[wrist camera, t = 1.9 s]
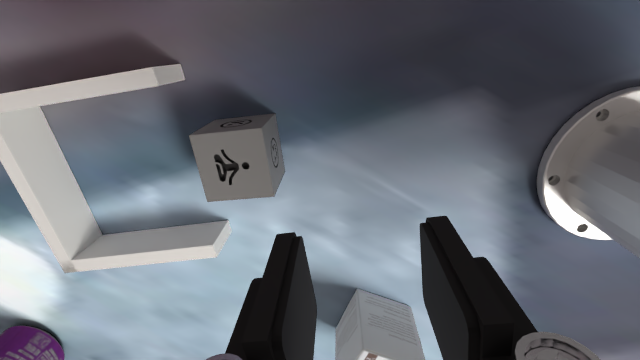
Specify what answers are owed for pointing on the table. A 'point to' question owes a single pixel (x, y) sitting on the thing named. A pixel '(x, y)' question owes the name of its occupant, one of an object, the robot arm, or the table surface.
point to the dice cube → (239, 157)
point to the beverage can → (29, 344)
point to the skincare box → (377, 330)
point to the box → (63, 190)
